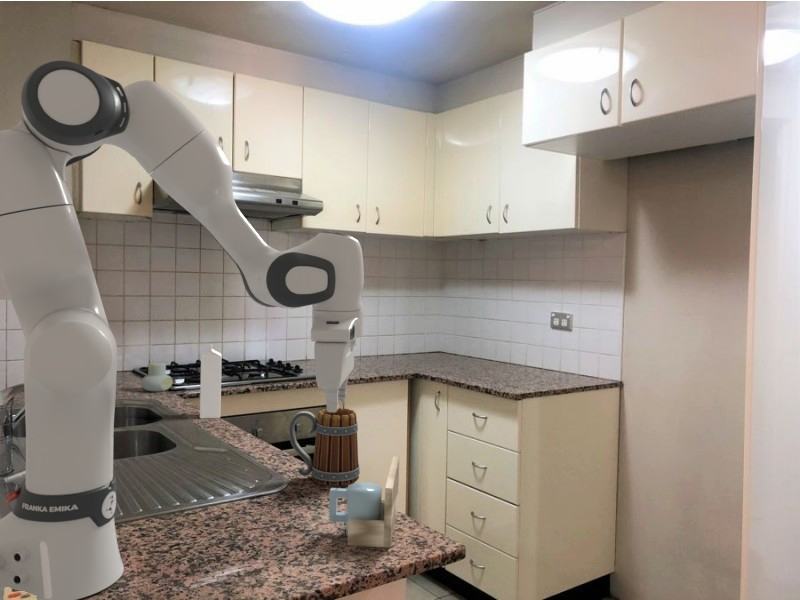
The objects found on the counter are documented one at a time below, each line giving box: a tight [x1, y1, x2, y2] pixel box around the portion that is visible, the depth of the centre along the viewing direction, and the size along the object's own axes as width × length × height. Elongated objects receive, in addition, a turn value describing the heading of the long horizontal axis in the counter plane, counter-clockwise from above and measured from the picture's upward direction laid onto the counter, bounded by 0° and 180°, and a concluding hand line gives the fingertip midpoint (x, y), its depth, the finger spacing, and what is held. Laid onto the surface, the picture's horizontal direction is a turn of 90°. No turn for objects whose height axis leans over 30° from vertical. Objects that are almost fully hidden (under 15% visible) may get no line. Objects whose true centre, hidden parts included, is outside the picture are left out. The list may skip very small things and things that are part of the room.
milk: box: [199, 343, 223, 419], centre depth 188 cm, size 6×6×22 cm
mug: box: [288, 407, 360, 488], centre depth 134 cm, size 16×11×15 cm
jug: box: [328, 481, 383, 537], centre depth 107 cm, size 9×6×8 cm, turn 86°
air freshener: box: [140, 361, 174, 393], centre depth 224 cm, size 11×8×10 cm
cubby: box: [347, 455, 400, 549], centre depth 111 cm, size 7×18×10 cm, turn 176°
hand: (336, 405), depth 107 cm, fingers open, 8 cm apart
